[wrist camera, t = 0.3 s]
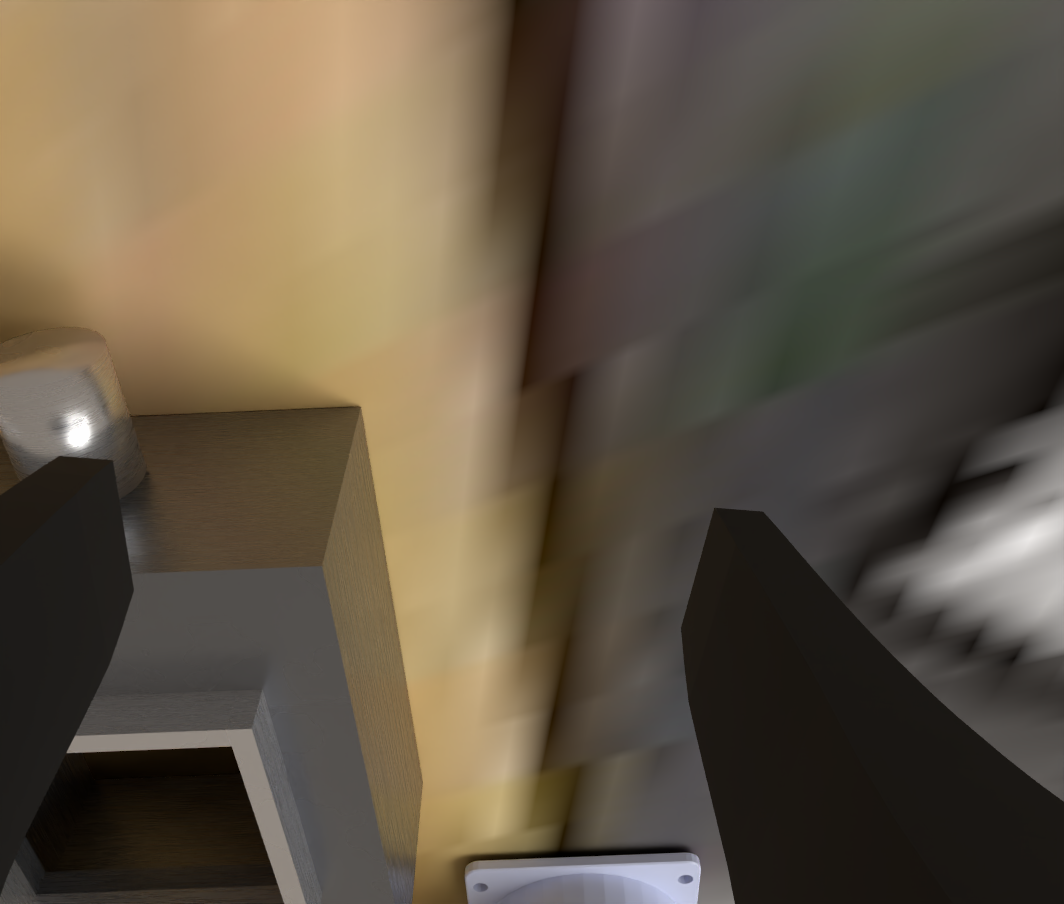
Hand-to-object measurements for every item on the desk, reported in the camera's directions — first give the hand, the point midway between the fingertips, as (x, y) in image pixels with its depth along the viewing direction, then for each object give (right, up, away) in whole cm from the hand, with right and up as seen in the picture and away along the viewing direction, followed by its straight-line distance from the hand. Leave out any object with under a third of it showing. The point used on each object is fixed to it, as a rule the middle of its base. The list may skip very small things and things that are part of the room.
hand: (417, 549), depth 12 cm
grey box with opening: (-8, -2, +14) cm, 16 cm away
